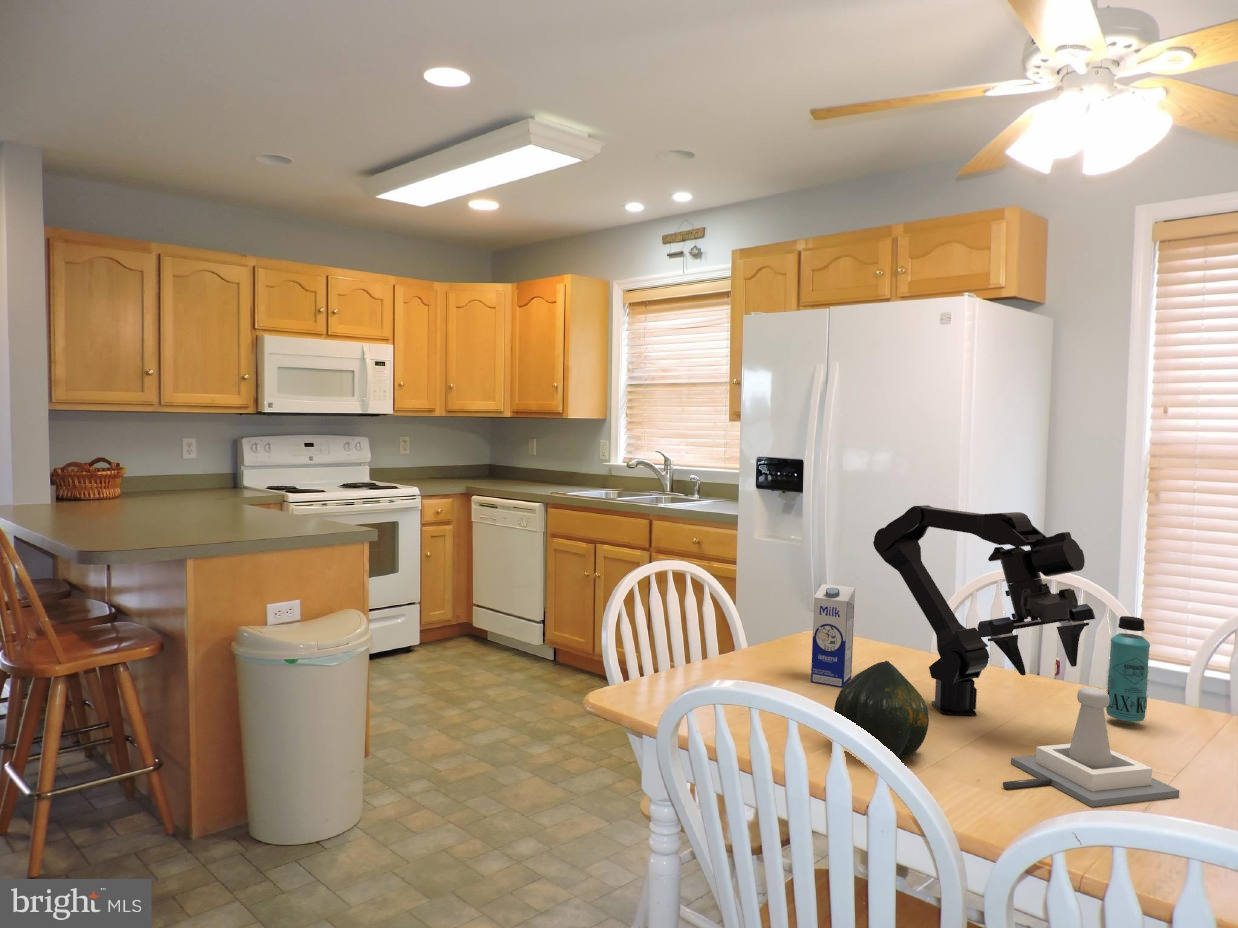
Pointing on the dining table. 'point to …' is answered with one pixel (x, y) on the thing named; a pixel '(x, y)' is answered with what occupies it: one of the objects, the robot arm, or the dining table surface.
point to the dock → (1091, 778)
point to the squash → (886, 708)
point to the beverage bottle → (1128, 672)
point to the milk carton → (832, 635)
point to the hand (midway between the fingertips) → (1048, 670)
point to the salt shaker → (1091, 730)
